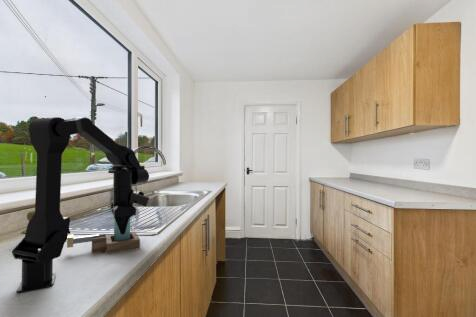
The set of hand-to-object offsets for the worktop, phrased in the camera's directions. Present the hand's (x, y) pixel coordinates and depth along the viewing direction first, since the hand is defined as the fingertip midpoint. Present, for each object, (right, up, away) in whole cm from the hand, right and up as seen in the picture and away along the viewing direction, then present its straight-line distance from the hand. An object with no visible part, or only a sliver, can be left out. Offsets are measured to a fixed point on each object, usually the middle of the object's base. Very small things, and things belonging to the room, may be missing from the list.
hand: (122, 232), depth 85 cm
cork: (-33, -5, +4) cm, 33 cm away
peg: (0, -3, 0) cm, 2 cm away
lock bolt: (-10, -2, -6) cm, 11 cm away
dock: (-2, -5, -1) cm, 5 cm away
